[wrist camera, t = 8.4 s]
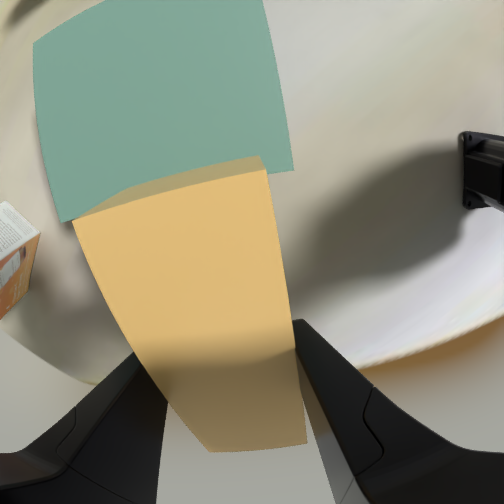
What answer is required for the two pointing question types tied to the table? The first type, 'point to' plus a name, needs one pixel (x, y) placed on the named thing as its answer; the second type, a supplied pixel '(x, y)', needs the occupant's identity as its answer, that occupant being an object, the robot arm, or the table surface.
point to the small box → (15, 255)
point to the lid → (155, 95)
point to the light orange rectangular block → (204, 300)
